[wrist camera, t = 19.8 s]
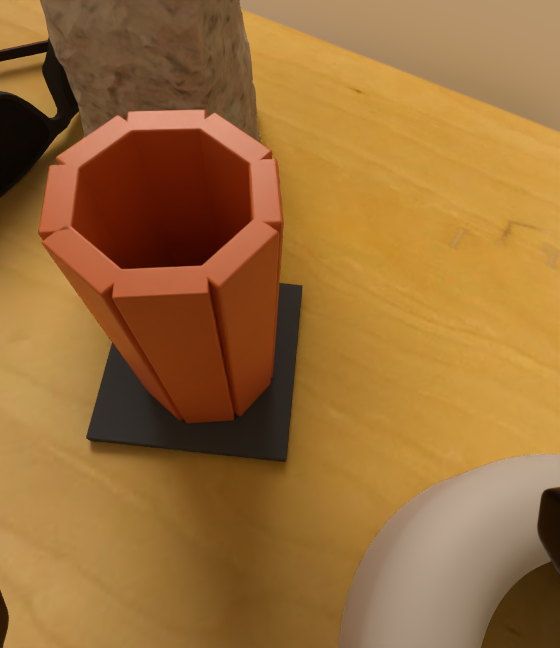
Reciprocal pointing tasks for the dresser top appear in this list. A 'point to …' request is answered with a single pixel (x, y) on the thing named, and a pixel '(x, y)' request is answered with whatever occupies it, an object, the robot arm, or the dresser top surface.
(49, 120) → the sunglasses
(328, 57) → the dresser top surface
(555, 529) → the robot arm
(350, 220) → the dresser top surface
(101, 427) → the felt mat
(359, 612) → the fat ring
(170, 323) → the octagonal orange vase
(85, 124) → the decorative stone
